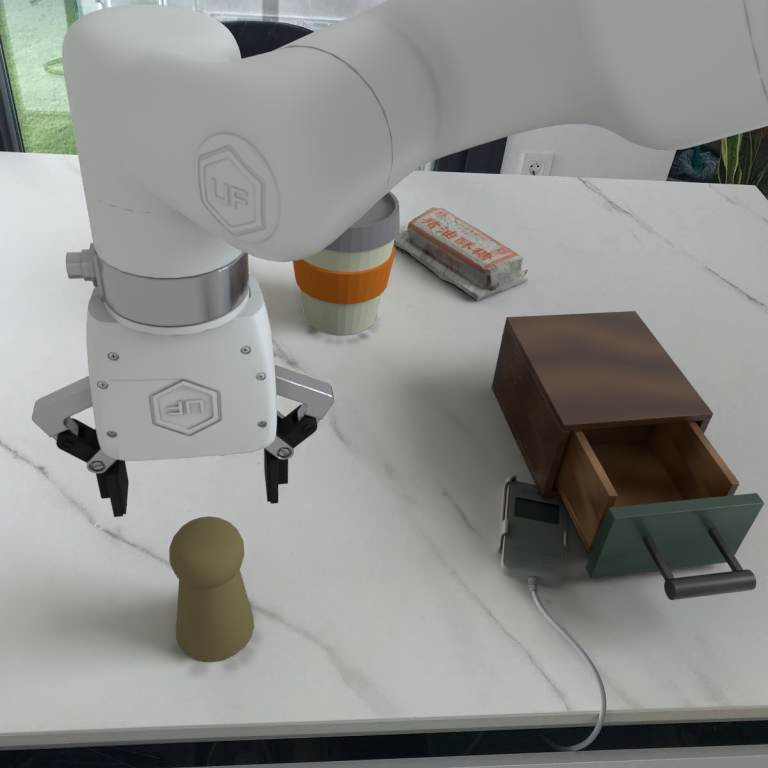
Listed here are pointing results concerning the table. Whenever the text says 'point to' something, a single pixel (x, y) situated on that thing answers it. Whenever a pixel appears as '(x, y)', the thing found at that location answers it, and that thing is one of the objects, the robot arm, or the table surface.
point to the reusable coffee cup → (350, 272)
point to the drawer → (657, 505)
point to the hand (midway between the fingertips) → (197, 493)
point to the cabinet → (585, 383)
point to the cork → (210, 590)
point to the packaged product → (461, 254)
